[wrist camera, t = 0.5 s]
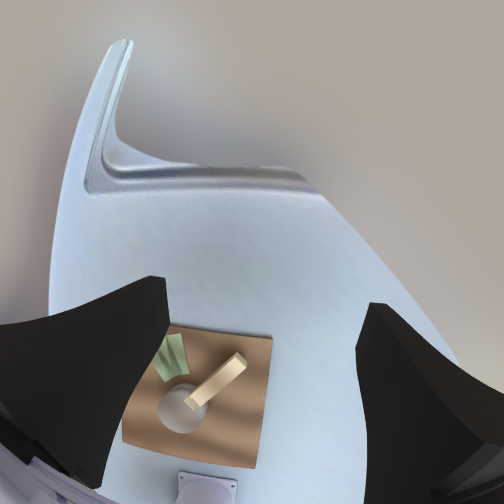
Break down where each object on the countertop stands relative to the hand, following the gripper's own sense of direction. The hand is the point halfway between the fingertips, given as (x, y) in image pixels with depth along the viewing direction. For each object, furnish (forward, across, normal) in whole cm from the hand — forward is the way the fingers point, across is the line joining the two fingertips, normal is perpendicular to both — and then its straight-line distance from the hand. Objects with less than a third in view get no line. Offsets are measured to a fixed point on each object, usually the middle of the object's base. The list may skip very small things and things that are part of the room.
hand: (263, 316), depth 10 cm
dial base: (+13, +9, +24) cm, 28 cm away
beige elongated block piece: (+13, +6, +21) cm, 25 cm away
